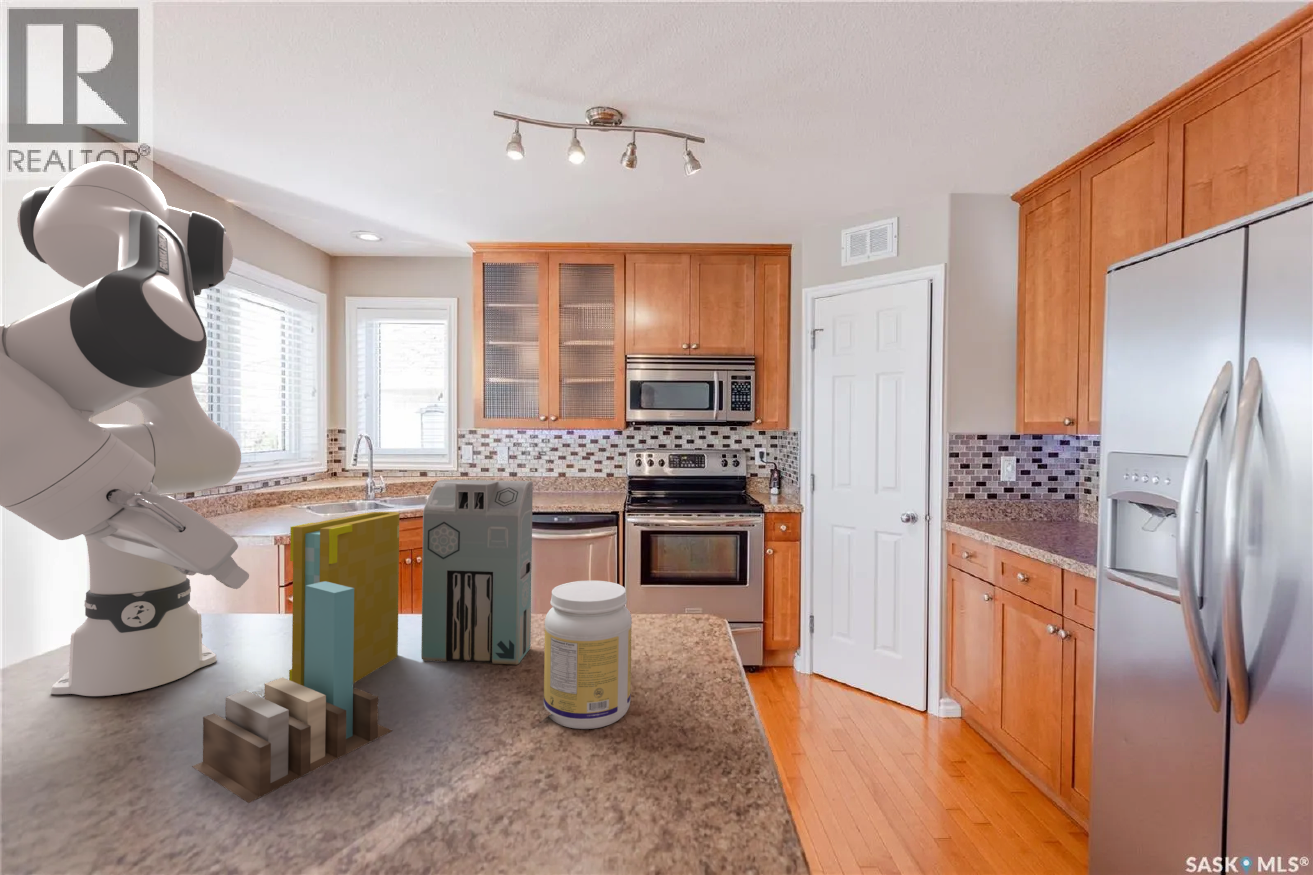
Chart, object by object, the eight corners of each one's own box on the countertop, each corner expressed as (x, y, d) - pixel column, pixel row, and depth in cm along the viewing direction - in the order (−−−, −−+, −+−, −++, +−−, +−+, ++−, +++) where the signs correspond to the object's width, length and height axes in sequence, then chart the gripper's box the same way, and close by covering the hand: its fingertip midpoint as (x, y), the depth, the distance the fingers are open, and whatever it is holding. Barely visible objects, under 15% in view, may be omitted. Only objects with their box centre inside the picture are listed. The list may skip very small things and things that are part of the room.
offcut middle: (263, 742, 67) (264, 683, 67) (282, 734, 69) (282, 677, 69) (307, 765, 63) (307, 702, 63) (325, 756, 65) (325, 695, 65)
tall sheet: (304, 731, 70) (305, 585, 70) (323, 722, 72) (325, 581, 72) (332, 745, 67) (334, 592, 67) (352, 735, 69) (354, 588, 69)
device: (420, 662, 95) (422, 483, 95) (441, 645, 103) (443, 479, 102) (517, 666, 94) (520, 485, 94) (530, 648, 102) (533, 481, 101)
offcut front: (225, 759, 64) (225, 697, 64) (245, 750, 66) (245, 690, 66) (267, 784, 59) (268, 717, 59) (288, 774, 61) (288, 709, 61)
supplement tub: (575, 683, 88) (577, 574, 88) (645, 701, 82) (647, 585, 82) (524, 719, 77) (526, 594, 77) (601, 742, 71) (603, 608, 71)
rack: (191, 779, 62) (192, 720, 62) (335, 717, 76) (335, 669, 76) (248, 817, 57) (249, 752, 56) (392, 742, 70) (393, 690, 70)
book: (330, 709, 78) (332, 529, 78) (288, 704, 80) (290, 526, 80) (407, 661, 95) (409, 512, 95) (371, 658, 96) (373, 510, 96)
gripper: (174, 467, 47) (296, 562, 56) (82, 458, 57) (197, 540, 66) (102, 529, 43) (244, 620, 52) (17, 507, 54) (148, 587, 62)
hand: (217, 575), depth 59 cm, fingers open, 8 cm apart
